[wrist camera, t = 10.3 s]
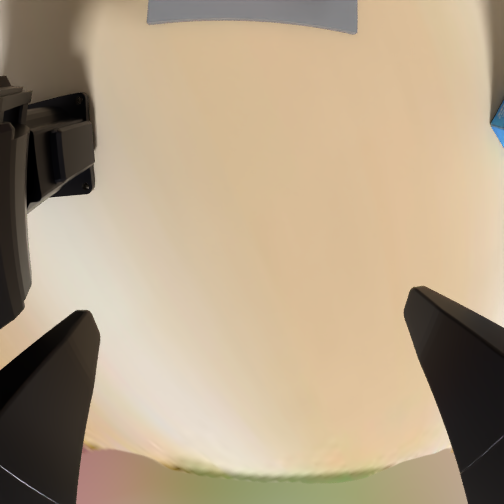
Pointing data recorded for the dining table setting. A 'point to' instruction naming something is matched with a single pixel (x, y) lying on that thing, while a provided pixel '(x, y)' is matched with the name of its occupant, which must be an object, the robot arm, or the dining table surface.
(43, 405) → the robot arm
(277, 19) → the charcoal mat
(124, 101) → the dining table surface
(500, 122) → the ink box
